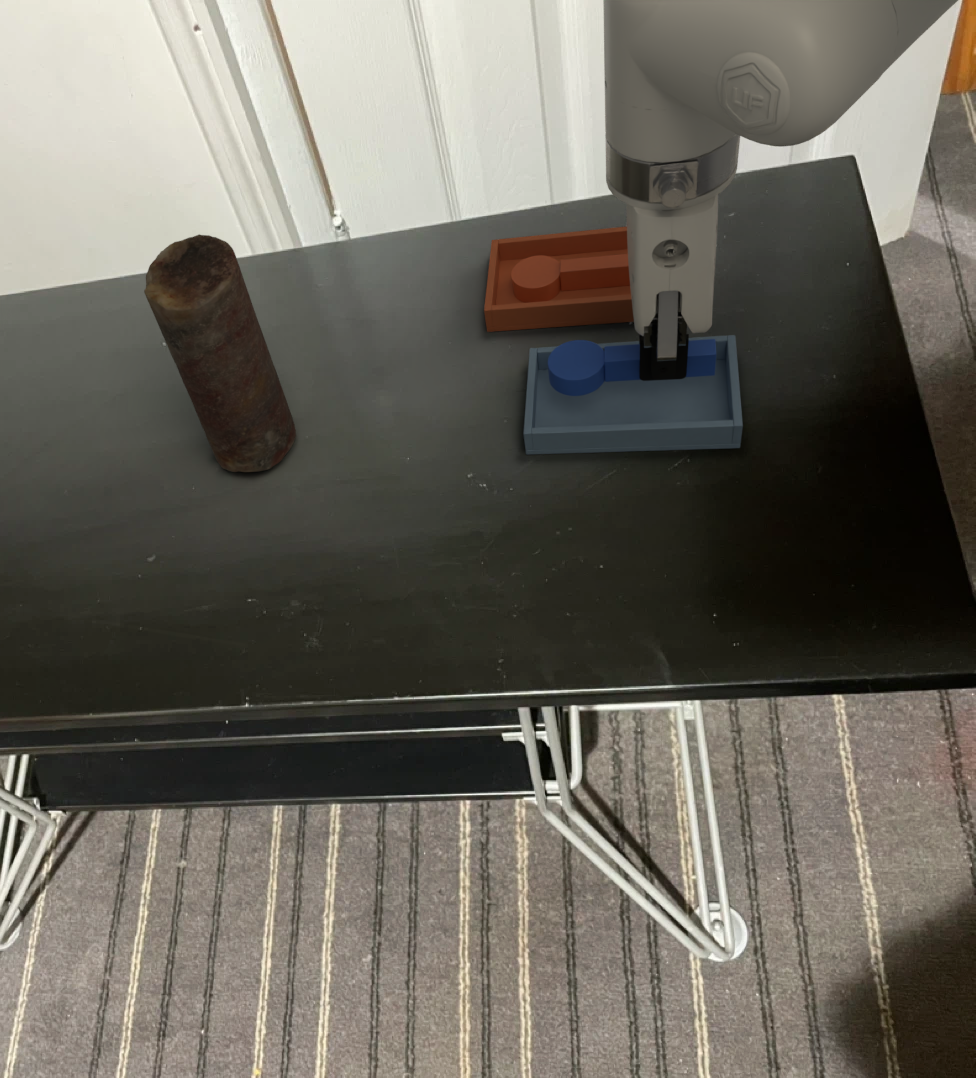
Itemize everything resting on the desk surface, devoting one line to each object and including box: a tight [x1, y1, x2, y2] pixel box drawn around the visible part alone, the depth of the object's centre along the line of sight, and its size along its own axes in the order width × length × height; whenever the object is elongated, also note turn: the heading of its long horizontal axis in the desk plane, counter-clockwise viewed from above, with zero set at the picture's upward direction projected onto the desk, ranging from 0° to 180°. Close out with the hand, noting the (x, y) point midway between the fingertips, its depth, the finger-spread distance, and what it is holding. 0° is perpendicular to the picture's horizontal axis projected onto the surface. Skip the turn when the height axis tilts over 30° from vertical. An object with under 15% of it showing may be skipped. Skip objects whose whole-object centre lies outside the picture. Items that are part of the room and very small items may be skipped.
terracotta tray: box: [483, 225, 634, 333], centre depth 89 cm, size 15×9×2 cm, turn 78°
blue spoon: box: [548, 339, 716, 396], centre depth 77 cm, size 12×4×2 cm, turn 78°
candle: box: [143, 233, 297, 473], centre depth 82 cm, size 8×7×20 cm
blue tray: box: [523, 334, 744, 456], centre depth 80 cm, size 15×9×2 cm, turn 78°
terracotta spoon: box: [511, 254, 630, 303], centre depth 88 cm, size 12×4×2 cm, turn 78°
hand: (662, 364), depth 77 cm, fingers closed on blue spoon, 1 cm apart
